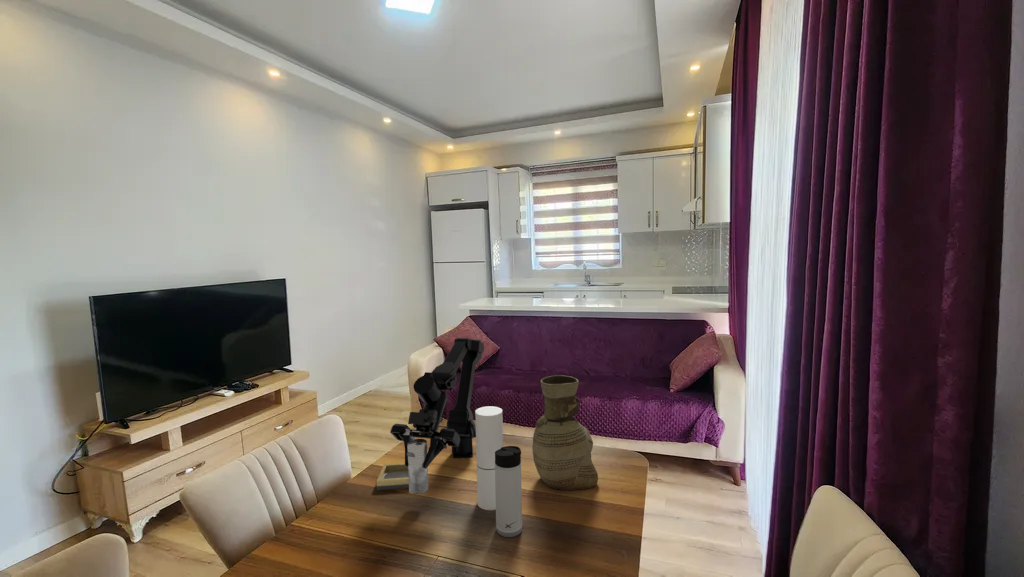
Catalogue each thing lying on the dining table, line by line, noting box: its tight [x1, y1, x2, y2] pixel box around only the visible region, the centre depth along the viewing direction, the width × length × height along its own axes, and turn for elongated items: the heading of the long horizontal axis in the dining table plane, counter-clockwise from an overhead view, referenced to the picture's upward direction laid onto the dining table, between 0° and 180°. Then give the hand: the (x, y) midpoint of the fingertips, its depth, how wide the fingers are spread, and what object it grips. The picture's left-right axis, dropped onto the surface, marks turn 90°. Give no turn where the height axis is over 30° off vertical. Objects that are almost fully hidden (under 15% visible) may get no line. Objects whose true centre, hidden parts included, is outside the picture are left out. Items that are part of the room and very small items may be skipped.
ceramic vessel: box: [531, 374, 599, 491], centre depth 123 cm, size 19×21×30 cm
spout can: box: [407, 438, 429, 495], centre depth 109 cm, size 7×5×12 cm
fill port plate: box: [376, 462, 409, 491], centre depth 124 cm, size 10×10×3 cm
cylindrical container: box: [474, 405, 504, 511], centre depth 111 cm, size 7×7×25 cm
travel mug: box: [495, 445, 523, 538], centre depth 100 cm, size 6×7×20 cm
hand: (415, 467), depth 109 cm, fingers closed on spout can, 5 cm apart
